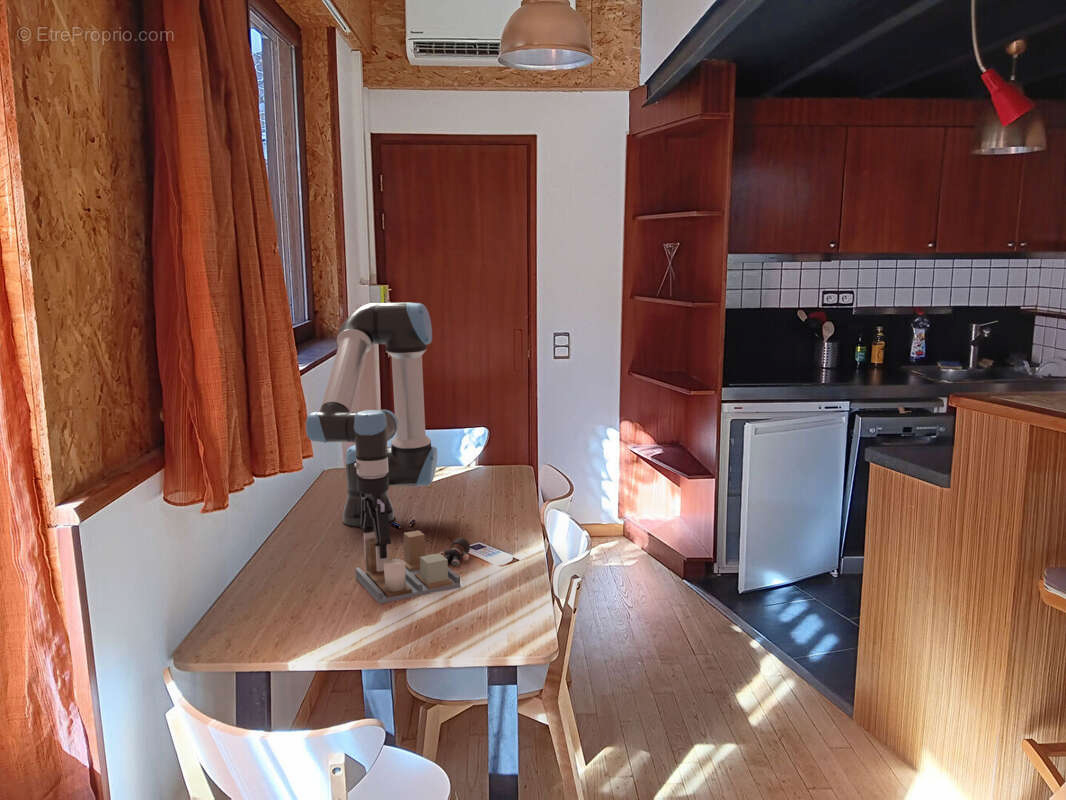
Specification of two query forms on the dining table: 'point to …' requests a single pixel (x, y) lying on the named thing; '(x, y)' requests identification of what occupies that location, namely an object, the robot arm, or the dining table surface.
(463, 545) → the figurine
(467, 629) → the dining table surface
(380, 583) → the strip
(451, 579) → the lane board
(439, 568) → the sage block
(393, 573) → the cream rounded capsule
